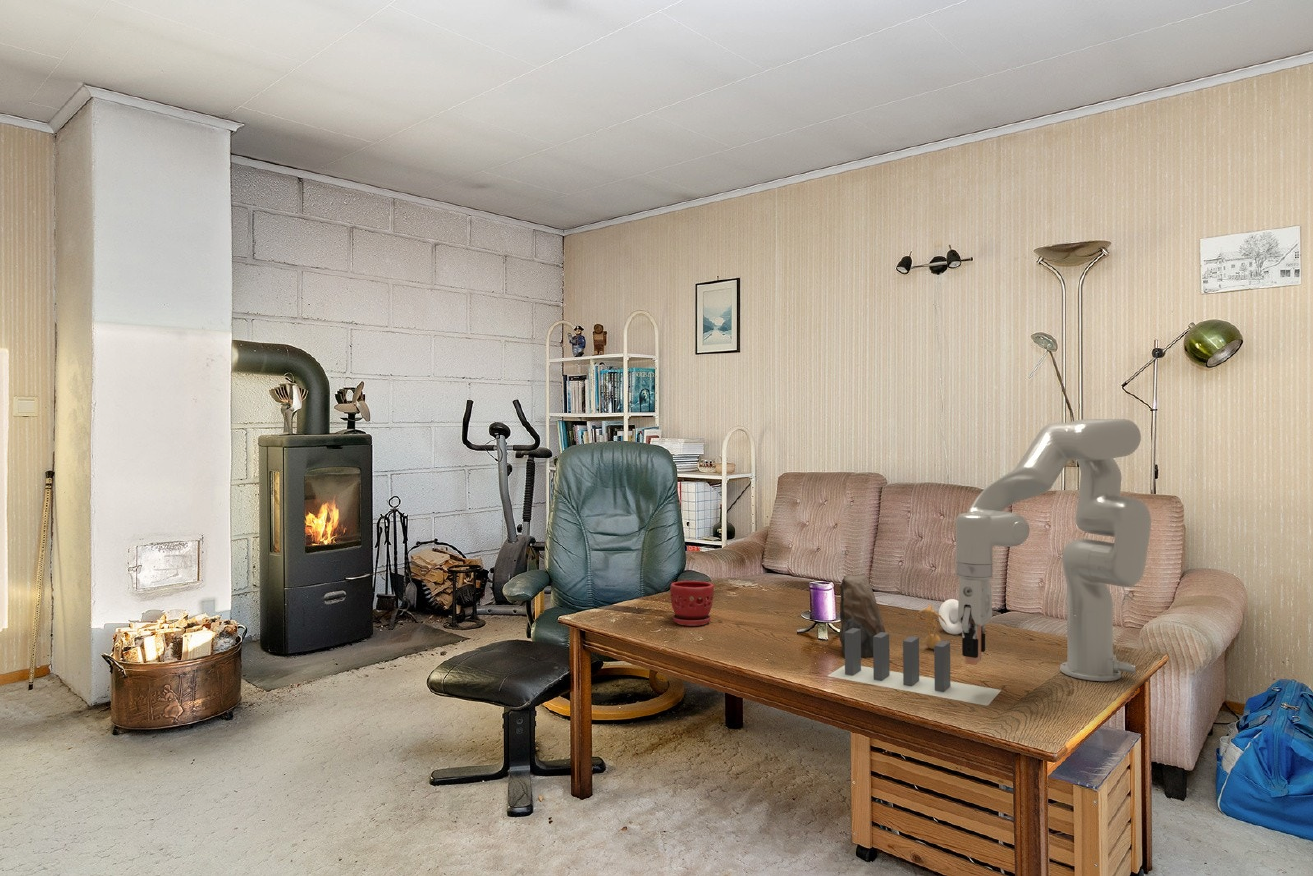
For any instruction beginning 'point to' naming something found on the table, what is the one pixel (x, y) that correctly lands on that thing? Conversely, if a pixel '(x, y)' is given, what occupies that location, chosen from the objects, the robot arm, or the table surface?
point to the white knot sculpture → (953, 620)
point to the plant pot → (691, 602)
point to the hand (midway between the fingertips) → (973, 652)
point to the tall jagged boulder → (859, 612)
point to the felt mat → (923, 686)
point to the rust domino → (975, 660)
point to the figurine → (931, 638)
